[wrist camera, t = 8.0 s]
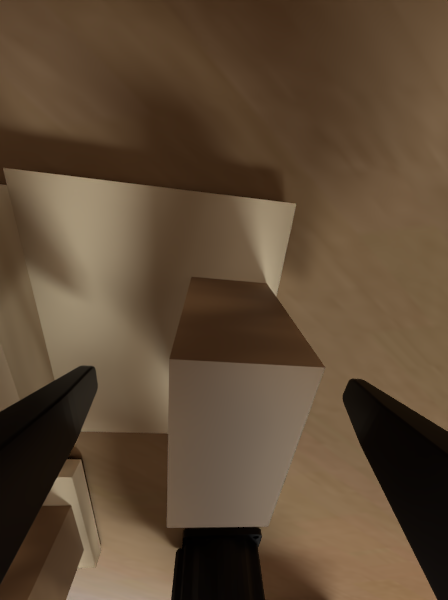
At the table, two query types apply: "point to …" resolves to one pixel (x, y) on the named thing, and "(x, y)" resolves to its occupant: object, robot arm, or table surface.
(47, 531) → the hollow rectangular frame
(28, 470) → the robot arm
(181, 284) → the cream rimmed tray
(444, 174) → the table surface
